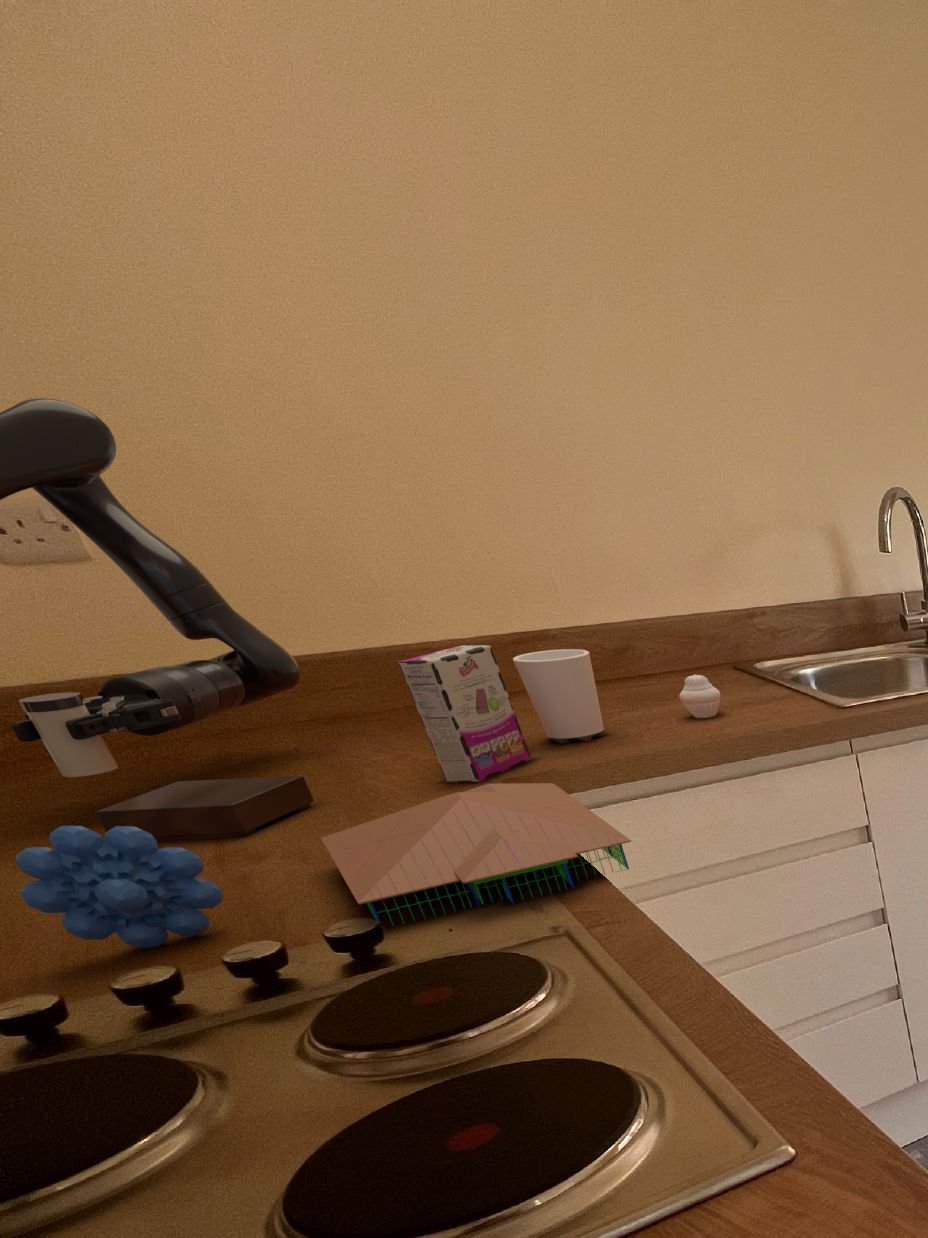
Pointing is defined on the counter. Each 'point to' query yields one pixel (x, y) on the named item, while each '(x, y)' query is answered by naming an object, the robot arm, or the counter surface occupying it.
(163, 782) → the counter surface
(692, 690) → the muffin
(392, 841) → the house
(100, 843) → the blue flower
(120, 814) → the platform
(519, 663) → the cup
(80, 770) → the spice jar
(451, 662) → the candy bar box
